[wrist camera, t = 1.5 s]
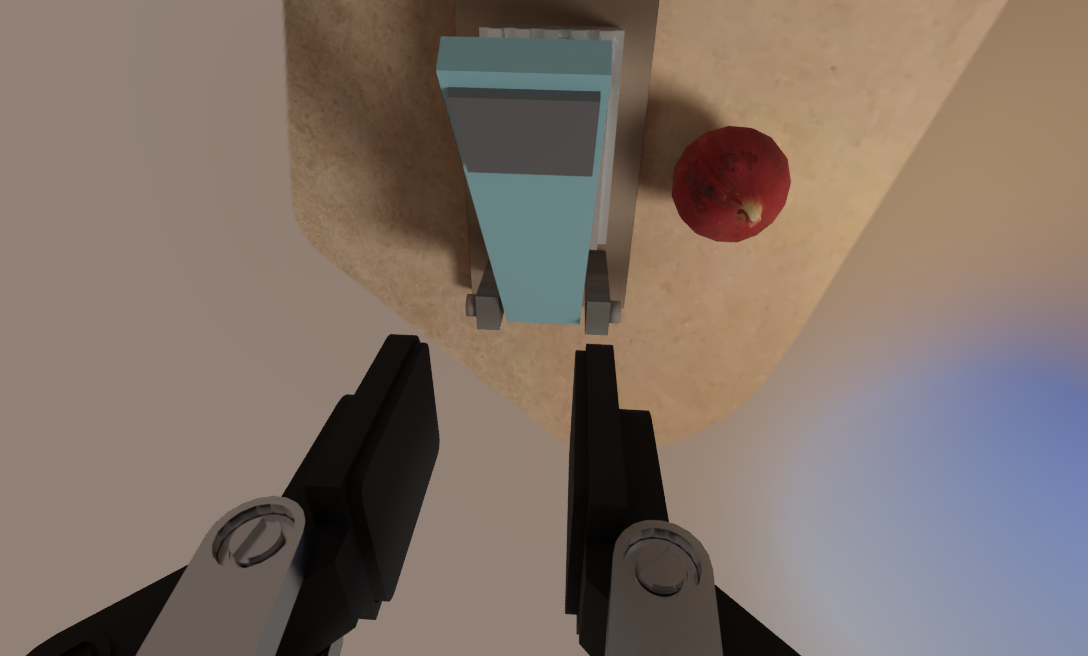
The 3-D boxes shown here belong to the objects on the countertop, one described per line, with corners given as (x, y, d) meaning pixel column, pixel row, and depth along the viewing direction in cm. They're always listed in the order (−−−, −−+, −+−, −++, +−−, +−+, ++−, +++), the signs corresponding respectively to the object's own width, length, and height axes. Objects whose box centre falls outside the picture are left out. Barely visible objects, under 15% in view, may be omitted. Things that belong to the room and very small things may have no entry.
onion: (646, 190, 32) (663, 242, 25) (697, 96, 29) (732, 126, 22) (729, 228, 33) (767, 288, 26) (786, 140, 30) (846, 182, 23)
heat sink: (491, 23, 26) (475, 28, 22) (619, 26, 26) (626, 31, 22) (497, 215, 32) (485, 245, 28) (603, 219, 31) (606, 250, 28)
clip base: (451, -156, 24) (385, -235, 16) (672, -155, 23) (720, -234, 15) (476, 290, 36) (446, 374, 28) (622, 297, 36) (634, 383, 28)
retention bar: (440, 36, 12) (434, 80, 12) (611, 40, 12) (611, 86, 12) (508, 304, 29) (506, 326, 29) (580, 307, 29) (579, 329, 29)
